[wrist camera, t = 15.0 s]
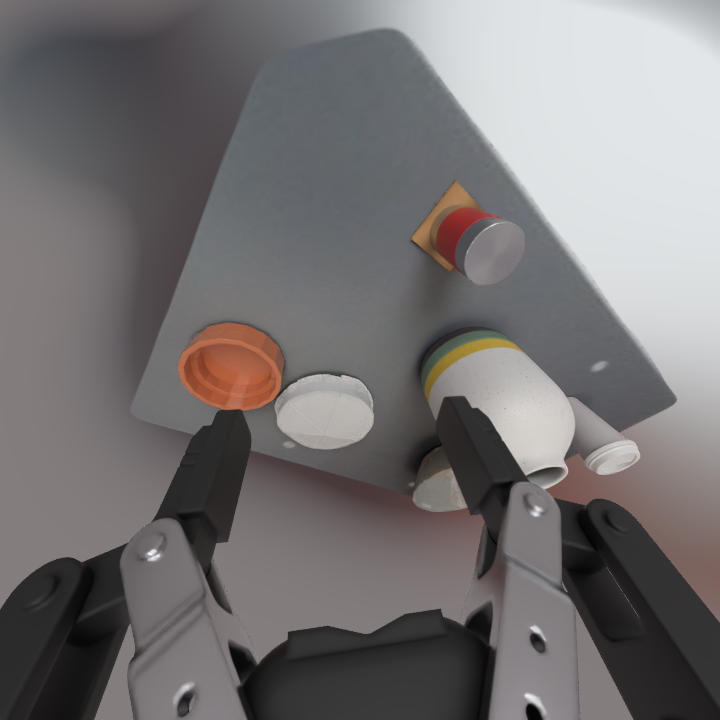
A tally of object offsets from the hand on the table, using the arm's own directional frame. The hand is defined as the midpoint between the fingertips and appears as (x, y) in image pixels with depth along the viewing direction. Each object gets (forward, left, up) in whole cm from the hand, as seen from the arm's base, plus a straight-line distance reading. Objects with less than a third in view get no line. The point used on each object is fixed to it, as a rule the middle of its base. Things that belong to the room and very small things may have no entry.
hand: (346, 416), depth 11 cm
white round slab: (+17, -28, -30) cm, 45 cm away
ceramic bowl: (+54, -28, -30) cm, 68 cm away
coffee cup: (+66, 0, -30) cm, 73 cm away
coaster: (+13, +10, -30) cm, 34 cm away
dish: (-2, -25, -30) cm, 39 cm away
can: (+13, +10, -30) cm, 34 cm away
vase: (+31, -4, -30) cm, 44 cm away
